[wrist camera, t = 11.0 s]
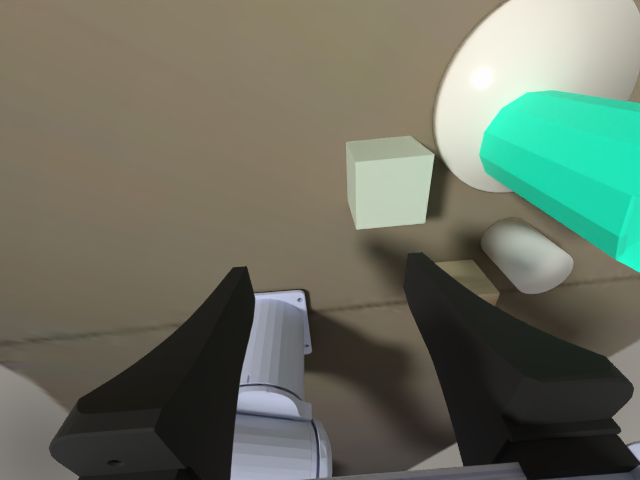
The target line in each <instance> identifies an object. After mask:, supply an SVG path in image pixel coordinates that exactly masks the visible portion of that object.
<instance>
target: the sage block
mask: <svg viewBox="0 0 640 480" xmlns="http://www.w3.org/2000/svg"><path fill="white" fill-rule="evenodd" d="M346 156H347V188H348V203H349V206H350V209H351V213H352V216H353V220H354V223H355V227H356V229H367V228H378V227H389V226H399V225H410V224H421V223H425V219H426V212H427V205H428V198H429V190H430V183H431V176H432V169H433V162H434V154H433V153H432V152H431V151H429V150H428V149H427V148H425V147H424V146H423V145H422V144H420V143H419V142H418V141H416V140H415V139H414V138H413V137H411V136H402V137H392V138H382V139H371V140H361V141H351V142H346Z"/></svg>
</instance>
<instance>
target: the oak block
mask: <svg viewBox="0 0 640 480" xmlns="http://www.w3.org/2000/svg"><path fill="white" fill-rule="evenodd" d="M435 264H437V265H438V266H439V267H440V268H441V269H443V270H444V271H445V272H446V273H448V274H449V275H450V276H451V277H453V278H454V279H455V280H457V281H458V282H459V283H461V284H462V285H463V286H465V287H466V288H467V289H469V290H470V291H472V292H473V293H475V294H476V295H478V296H479V297H481V298H482V299H484V300H485V301H487V302H488V303H490V304H492V305H493V306H495V305H496V302H497V300H498V297H499V294H500V292H499V291H498V290H497V289H496V287H495V286H494V285H493V284H492V283H491V281H490V280H489V279H488V278H487V277H486V275H485V274H484V273H483V272H482V270H481V269H480V268H479V267H478V266H477V264H476V263H475V262H474V261H473V259H471V260H460V261H448V262H437V263H435Z"/></svg>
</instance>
